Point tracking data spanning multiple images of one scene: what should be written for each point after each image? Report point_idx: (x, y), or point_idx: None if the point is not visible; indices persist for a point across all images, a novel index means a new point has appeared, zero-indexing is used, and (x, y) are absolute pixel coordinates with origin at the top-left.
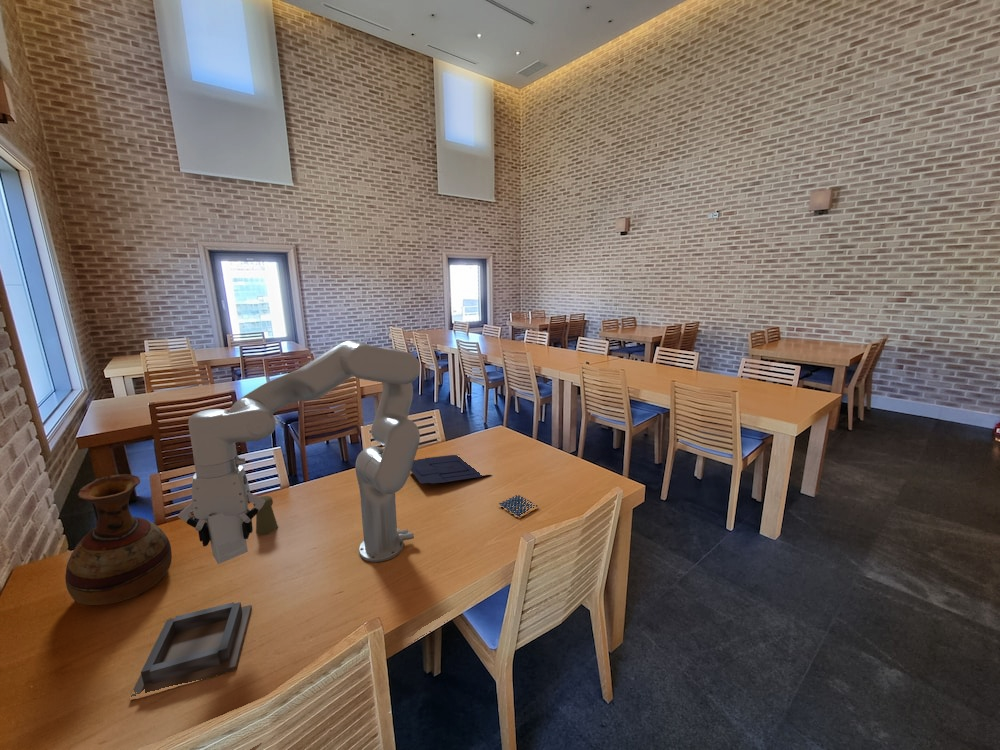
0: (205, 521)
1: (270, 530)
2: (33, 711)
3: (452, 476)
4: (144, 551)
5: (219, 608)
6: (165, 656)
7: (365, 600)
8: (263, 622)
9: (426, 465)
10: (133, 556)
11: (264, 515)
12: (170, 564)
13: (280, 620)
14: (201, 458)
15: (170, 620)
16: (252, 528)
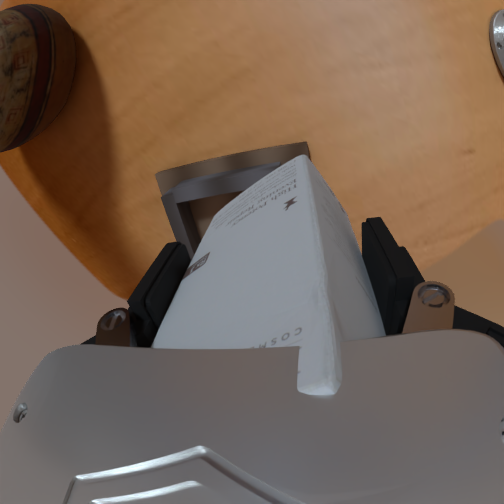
0: (135, 337)
1: None
2: (104, 272)
3: None
4: (11, 91)
5: (254, 183)
6: (201, 240)
7: (499, 190)
8: (343, 188)
9: None
10: (5, 112)
11: None
12: (71, 31)
13: (375, 192)
14: None
15: (168, 199)
16: (404, 249)
